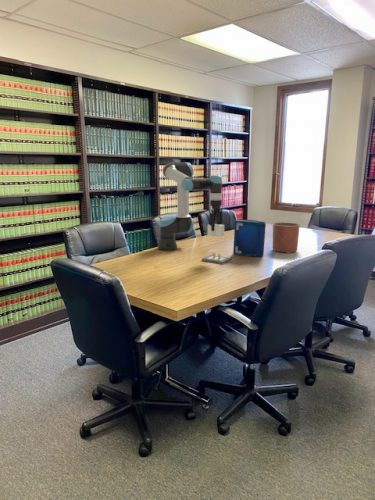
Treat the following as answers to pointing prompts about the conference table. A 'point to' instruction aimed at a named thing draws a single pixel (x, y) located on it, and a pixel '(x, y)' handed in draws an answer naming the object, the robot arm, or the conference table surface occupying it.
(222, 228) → the block
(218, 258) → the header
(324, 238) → the conference table surface
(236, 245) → the book
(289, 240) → the planter
